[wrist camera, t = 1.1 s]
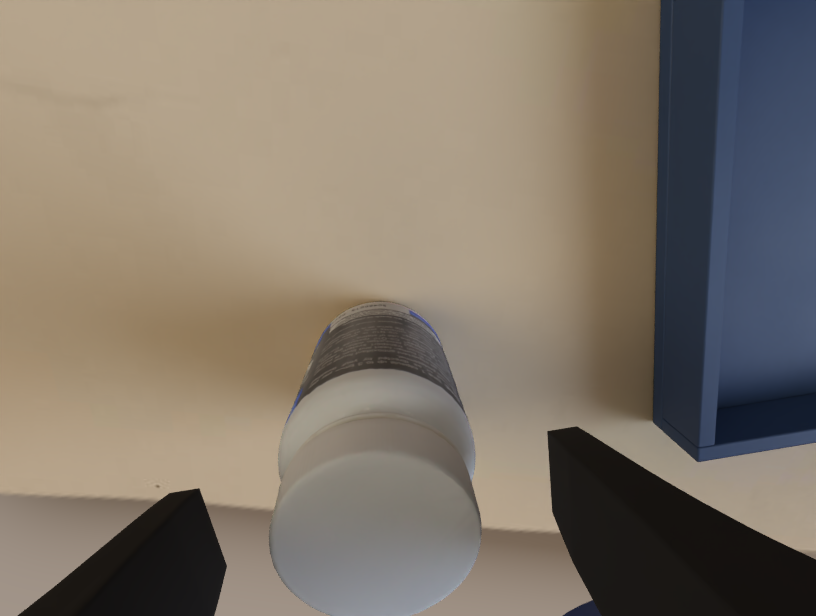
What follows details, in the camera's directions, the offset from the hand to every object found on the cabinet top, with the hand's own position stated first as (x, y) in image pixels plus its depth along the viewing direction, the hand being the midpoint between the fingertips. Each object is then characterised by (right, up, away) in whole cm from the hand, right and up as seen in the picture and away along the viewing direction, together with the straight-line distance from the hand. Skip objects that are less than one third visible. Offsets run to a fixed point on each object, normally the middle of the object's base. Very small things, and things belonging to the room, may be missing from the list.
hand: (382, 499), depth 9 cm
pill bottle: (-1, +2, +7) cm, 8 cm away
